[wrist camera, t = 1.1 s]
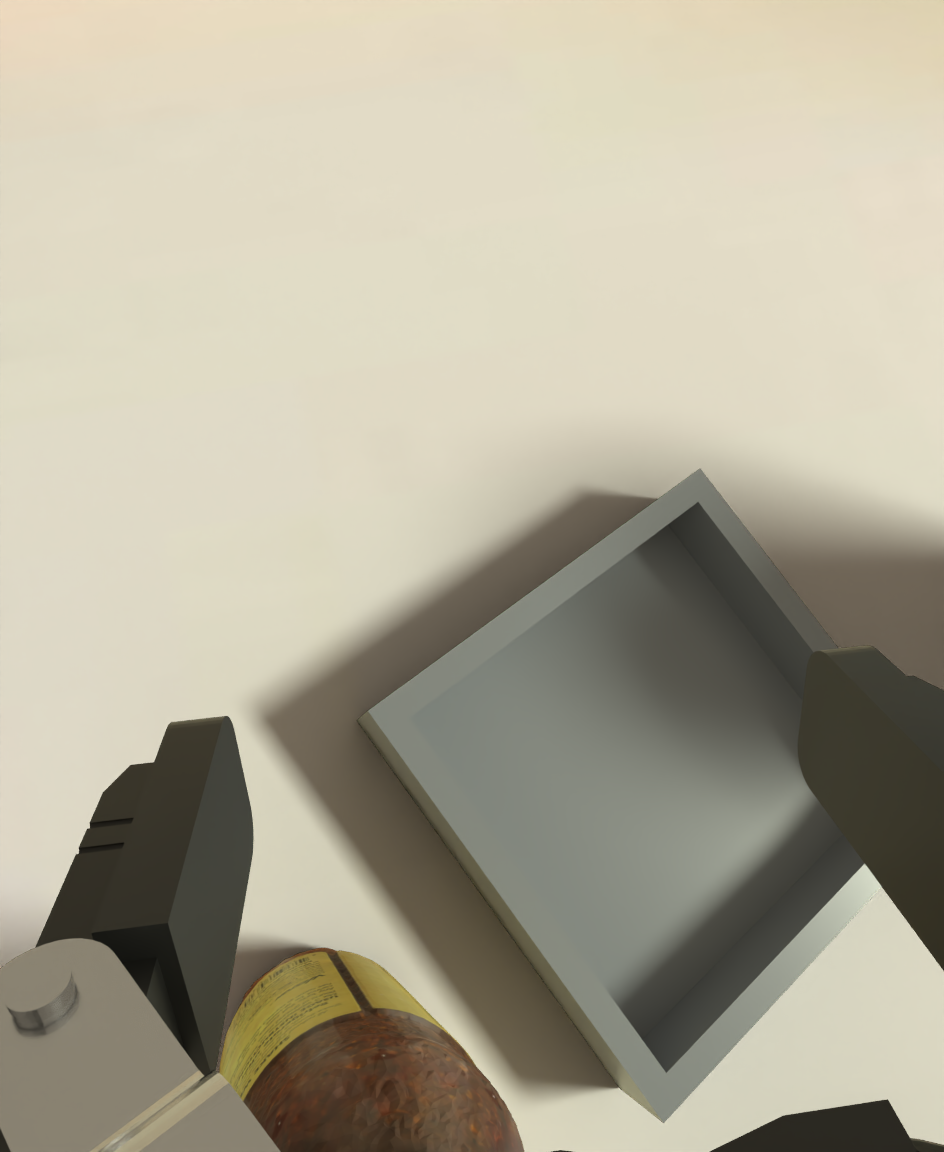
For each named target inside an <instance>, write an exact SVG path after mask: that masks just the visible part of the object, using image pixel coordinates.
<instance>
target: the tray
mask: <svg viewBox="0 0 944 1152" xmlns="http://www.w3.org/2000/svg"><path fill="white" fill-rule="evenodd" d="M830 649H839V648H838V647H837V646H836V644H835V643H834V642H833V641H832V639H831V638H830V637H829V635H828V634H827V633H826V631H825V630H824V629H823V628H822V626H821V625H820V624H819V622H818V621H817V620H816V618H815V617H814V616H813V615H812V613H811V612H810V611H809V609H808V608H807V607H806V605H805V604H804V603H803V602H802V600H801V599H800V598H799V596H798V595H797V594H796V592H795V591H794V590H793V589H792V587H791V586H790V585H789V583H788V582H787V581H786V579H785V578H784V577H783V576H782V574H781V573H780V572H779V570H778V569H777V568H776V566H775V565H774V564H773V563H772V561H771V560H770V559H769V557H768V556H767V555H766V553H765V552H764V551H763V550H762V548H761V547H760V546H759V544H758V543H757V542H756V540H755V539H754V538H753V537H752V535H751V534H750V533H749V531H748V530H747V529H746V527H745V526H744V525H743V524H742V522H741V521H740V520H739V518H738V517H737V516H736V514H735V513H734V512H733V511H732V509H731V508H730V507H729V505H728V504H727V503H726V501H725V500H724V499H723V498H722V496H721V495H720V494H719V492H718V491H717V490H716V488H715V487H714V486H713V485H712V483H711V482H710V481H709V479H708V478H707V477H706V475H705V474H704V473H703V472H702V470H701V469H698V470H697V471H696V472H694V473H693V474H692V475H690V476H689V477H687V478H686V479H685V480H683V481H682V482H681V483H679V484H678V485H677V486H675V487H674V488H672V489H671V490H670V491H668V492H667V493H666V494H664V495H663V496H661V497H660V498H659V499H657V500H656V501H655V502H653V503H652V504H650V505H649V506H648V507H646V508H645V509H644V510H642V511H641V512H640V513H638V514H637V515H635V516H634V517H633V518H631V519H630V520H629V521H627V522H626V523H624V524H623V525H622V526H620V527H619V528H618V529H616V530H615V531H613V532H612V533H611V534H609V535H608V536H607V537H605V538H604V539H603V540H601V541H600V542H598V543H597V544H596V545H594V546H593V547H592V548H590V549H589V550H587V551H586V552H585V553H583V554H582V555H581V556H579V557H578V558H577V559H575V560H574V561H572V562H571V563H570V564H568V565H567V566H566V567H564V568H563V569H561V570H560V571H559V572H557V573H556V574H555V575H553V576H552V577H550V578H549V579H548V580H546V581H545V582H544V583H542V584H541V585H540V586H538V587H537V588H535V589H534V590H533V591H531V592H530V593H529V594H527V595H526V596H524V597H523V598H522V599H520V600H519V601H518V602H516V603H515V604H513V605H512V606H511V607H509V608H508V609H507V610H505V611H504V612H503V613H501V614H500V615H498V616H497V617H496V618H494V619H493V620H492V621H490V622H489V623H487V624H486V625H485V626H483V627H482V628H481V629H479V630H478V631H476V632H475V633H474V634H472V635H471V636H470V637H468V638H467V639H466V640H464V641H463V642H461V643H460V644H459V645H457V646H456V647H455V648H453V649H452V650H450V651H449V652H448V653H446V654H445V655H444V656H442V657H441V658H439V659H438V660H437V661H435V662H434V663H433V664H431V665H430V666H429V667H427V668H426V669H424V670H423V671H422V672H420V673H419V674H418V675H416V676H415V677H413V678H412V679H411V680H409V681H408V682H407V683H405V684H404V685H403V686H401V687H400V688H398V689H397V690H396V691H394V692H393V693H392V694H390V695H389V696H387V697H386V698H385V699H383V700H382V701H381V702H379V703H378V704H376V705H375V706H374V707H372V708H371V709H370V710H368V711H367V712H366V713H365V714H364V715H363V716H361V717H360V718H359V719H358V720H357V722H358V723H359V724H360V726H361V727H362V729H363V730H364V731H365V733H366V734H367V736H368V737H369V738H370V740H371V741H372V743H373V744H374V745H375V747H376V748H377V750H378V751H379V752H380V754H381V755H382V757H383V758H384V759H385V761H386V762H387V764H388V765H389V766H390V768H391V769H392V771H393V772H394V773H395V775H396V776H397V778H398V779H399V780H400V782H401V783H402V785H403V786H404V787H405V789H406V790H407V792H408V793H409V794H410V796H411V797H412V799H413V800H414V801H415V803H416V804H417V806H418V807H419V808H420V810H421V811H422V813H423V814H424V815H425V817H426V818H427V820H428V821H429V822H430V824H431V825H432V827H433V828H434V829H435V831H436V832H437V834H438V835H439V836H440V838H441V839H442V840H443V842H444V843H445V845H446V846H447V847H448V849H449V850H450V852H451V853H452V854H453V856H454V857H455V859H456V860H457V861H458V863H459V864H460V866H461V867H462V868H463V870H464V871H465V873H466V874H467V875H468V877H469V878H470V880H471V881H472V882H473V884H474V885H475V887H476V888H477V889H478V891H479V892H480V894H481V895H482V896H483V898H484V899H485V901H486V902H487V903H488V905H489V906H490V908H491V909H492V910H493V912H494V913H495V915H496V916H497V917H498V919H499V920H500V922H501V923H502V924H503V926H504V927H505V929H506V930H507V931H508V933H509V934H510V936H511V937H512V938H513V940H514V941H515V943H516V944H517V945H518V947H519V948H520V950H521V951H522V952H523V954H524V955H525V957H526V958H527V959H528V961H529V962H530V964H531V965H532V966H533V968H534V969H535V971H536V972H537V973H538V975H539V976H540V977H541V979H542V980H543V982H544V983H545V984H546V986H547V987H548V989H549V990H550V991H551V993H552V994H553V996H554V997H555V998H556V1000H557V1001H558V1003H559V1004H560V1005H561V1007H562V1008H563V1010H564V1011H565V1012H566V1014H567V1015H568V1017H569V1018H570V1019H571V1021H572V1022H573V1024H574V1025H575V1026H576V1028H577V1029H578V1031H579V1032H580V1033H581V1035H582V1036H583V1038H584V1039H585V1040H586V1042H587V1043H588V1045H589V1046H590V1047H591V1049H592V1050H593V1052H594V1053H595V1054H596V1056H597V1057H598V1059H599V1060H600V1061H601V1063H602V1064H603V1066H604V1067H605V1068H606V1070H607V1071H608V1073H609V1074H610V1075H611V1077H612V1078H613V1080H614V1081H615V1082H616V1084H617V1085H618V1087H619V1088H620V1089H621V1090H622V1091H624V1092H625V1093H626V1094H627V1095H629V1096H630V1097H631V1098H633V1099H634V1100H635V1101H636V1102H638V1103H639V1104H640V1105H641V1106H643V1107H644V1108H645V1109H646V1110H648V1111H649V1112H650V1113H651V1114H653V1115H654V1116H655V1117H656V1118H658V1119H659V1120H660V1121H661V1122H663V1123H664V1122H665V1121H666V1120H667V1119H668V1118H669V1117H670V1116H671V1115H672V1113H673V1112H674V1111H675V1110H676V1109H677V1108H678V1107H679V1106H680V1105H681V1104H682V1103H683V1102H684V1100H685V1099H686V1098H687V1097H688V1096H689V1095H690V1094H691V1093H692V1092H693V1091H694V1090H695V1089H696V1087H697V1086H698V1085H699V1084H700V1083H701V1082H702V1081H703V1080H704V1079H705V1078H706V1077H707V1076H708V1074H709V1073H710V1072H711V1071H712V1070H713V1069H714V1068H715V1067H716V1066H717V1065H718V1064H719V1063H720V1061H721V1060H722V1059H723V1058H724V1057H725V1056H726V1055H727V1054H728V1053H729V1052H730V1051H731V1050H732V1048H733V1047H734V1046H735V1045H736V1044H737V1043H738V1042H739V1041H740V1040H741V1039H742V1038H743V1037H744V1035H745V1034H746V1033H747V1032H748V1031H749V1030H750V1029H751V1028H752V1027H753V1026H754V1025H755V1024H756V1022H757V1021H758V1020H759V1019H760V1018H761V1017H762V1016H763V1015H764V1014H765V1013H766V1012H767V1011H768V1009H769V1008H770V1007H771V1006H772V1005H773V1004H774V1003H775V1002H776V1001H777V1000H778V999H779V998H780V996H781V995H782V994H783V993H784V992H785V991H786V990H787V989H788V988H789V987H790V986H791V985H792V983H793V982H794V981H795V980H796V979H797V978H798V977H799V976H800V975H801V974H802V973H803V972H804V970H805V969H806V968H807V967H808V966H809V965H810V964H811V963H812V962H813V961H814V960H815V959H816V957H817V956H818V955H819V954H820V953H821V952H822V951H823V950H824V949H825V948H826V947H827V946H828V944H829V943H830V942H831V941H832V940H833V939H834V938H835V937H836V936H837V935H838V934H839V933H840V931H841V930H842V929H843V928H844V927H845V926H846V925H847V924H848V923H849V922H850V921H851V920H852V918H853V917H854V916H855V915H856V914H857V913H858V912H859V911H860V910H861V909H862V908H863V907H864V905H865V904H866V903H867V902H868V901H869V900H870V899H871V898H872V897H873V896H874V895H875V894H876V892H877V891H878V890H879V889H880V888H881V887H882V886H881V885H880V884H879V882H878V881H877V879H876V878H875V877H874V875H873V874H872V873H871V871H870V870H869V869H868V867H867V866H866V865H865V863H864V862H863V860H862V859H861V858H860V856H859V855H858V854H857V852H856V851H855V850H854V848H853V847H852V846H851V844H850V843H849V841H848V840H847V839H846V837H845V836H844V835H843V833H842V832H841V831H840V829H839V828H838V827H837V825H836V824H835V822H834V821H833V820H832V818H831V817H830V816H829V814H828V813H827V812H826V810H825V809H824V808H823V806H822V805H821V803H820V802H819V801H818V799H817V798H816V797H815V795H814V794H813V793H812V791H811V790H810V788H809V787H808V785H807V783H806V781H805V779H804V777H803V774H802V771H801V768H800V764H799V758H798V735H799V727H800V719H801V710H802V702H803V694H804V685H805V677H806V669H807V664H808V660H809V658H810V656H811V655H812V654H813V653H814V652H815V651H821V650H830Z"/></svg>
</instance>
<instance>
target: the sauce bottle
mask: <svg viewBox="0 0 944 1152" xmlns="http://www.w3.org/2000/svg"><path fill="white" fill-rule="evenodd" d="M220 1074H221V1075H222V1076H223V1077H224V1078H225V1079H226V1080H227V1081H228V1082H229V1084H230V1085H231V1086H232V1087H233V1089H234V1090H235V1091H236V1093H237V1094H238V1095H239V1097H240V1098H241V1099H242V1101H243V1102H244V1103H245V1105H246V1106H247V1107H248V1109H249V1110H250V1111H251V1113H252V1114H253V1115H254V1117H255V1118H256V1119H257V1121H258V1122H259V1123H260V1125H261V1126H262V1127H263V1129H264V1130H265V1131H266V1133H267V1134H268V1135H269V1137H270V1138H271V1139H272V1141H273V1142H274V1144H275V1145H276V1146H277V1148H278V1149H279V1150H280V1152H524V1148H523V1144H522V1141H521V1138H520V1135H519V1132H518V1129H517V1126H516V1124H515V1122H514V1120H513V1118H512V1115H511V1113H510V1112H509V1110H508V1108H507V1106H506V1104H505V1102H504V1101H503V1100H502V1099H501V1098H500V1096H499V1094H498V1092H497V1091H496V1089H495V1088H494V1087H493V1086H492V1085H491V1083H490V1081H489V1080H488V1079H487V1078H486V1077H485V1076H484V1075H483V1074H482V1073H481V1071H480V1070H479V1069H478V1068H477V1067H476V1065H475V1064H474V1062H473V1061H472V1059H471V1058H470V1056H469V1055H468V1053H467V1052H466V1051H465V1050H464V1049H463V1048H462V1046H461V1045H460V1044H459V1043H458V1042H457V1041H456V1040H455V1039H454V1038H453V1037H452V1036H451V1035H450V1034H449V1033H448V1032H447V1031H446V1030H445V1029H444V1028H443V1027H442V1026H441V1025H440V1024H439V1023H438V1022H437V1021H436V1020H435V1019H434V1018H433V1017H432V1016H431V1015H430V1014H429V1013H428V1012H427V1011H426V1010H425V1009H424V1008H423V1007H422V1006H421V1005H420V1004H419V1003H418V1002H417V1000H416V999H415V998H414V997H413V996H412V995H411V994H410V993H409V992H408V991H407V990H406V989H405V988H404V987H403V986H402V985H401V984H400V983H399V982H398V981H397V980H396V979H395V978H394V977H393V976H391V975H390V974H389V973H388V972H387V971H386V970H385V969H384V968H382V967H381V966H380V965H378V964H376V963H375V962H373V961H372V960H370V959H367V958H365V957H363V956H360V955H358V954H354V953H351V952H345V951H340V950H339V951H335V950H333V949H328V948H317V949H313V950H309V951H305V952H301V953H298V954H296V955H294V956H292V957H290V958H287V959H285V960H284V961H282V962H281V963H280V964H279V965H277V966H276V967H274V968H272V969H271V970H270V971H269V972H267V973H265V974H264V975H263V976H262V977H261V978H259V979H257V980H256V981H255V982H254V983H253V985H252V986H251V988H250V989H249V990H248V991H247V992H246V993H245V996H244V997H243V1001H242V1003H241V1004H240V1006H239V1008H238V1011H237V1013H236V1014H235V1016H234V1018H233V1020H232V1023H231V1025H230V1027H229V1029H228V1032H227V1034H226V1037H225V1042H224V1047H223V1052H222V1056H221V1061H220Z"/></svg>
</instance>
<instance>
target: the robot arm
mask: <svg viewBox="0 0 944 1152" xmlns="http://www.w3.org/2000/svg"><path fill="white" fill-rule="evenodd" d="M798 758H799V764H800V768H801V771H802V774H803V777H804V779H805V781H806V783H807V785H808V787H809V788H810V790H811V791H812V793H813V794H814V795H815V797H816V798H817V799H818V801H819V802H820V803H821V805H822V806H823V808H824V809H825V810H826V812H827V813H828V814H829V816H830V817H831V818H832V820H833V821H834V822H835V824H836V825H837V827H838V828H839V829H840V831H841V832H842V833H843V835H844V836H845V837H846V839H847V840H848V841H849V843H850V844H851V846H852V847H853V848H854V850H855V851H856V852H857V854H858V855H859V856H860V858H861V859H862V860H863V862H864V863H865V865H866V866H867V867H868V869H869V870H870V871H871V873H872V874H873V875H874V877H875V878H876V879H877V881H878V882H879V884H880V885H881V886H882V888H883V889H884V890H885V892H886V893H887V894H888V896H889V897H890V898H891V900H892V901H893V903H894V904H895V905H896V907H897V908H898V909H899V911H900V912H901V913H902V915H903V916H904V917H905V919H906V920H907V922H908V923H909V924H910V926H911V927H912V928H913V930H914V931H915V932H916V934H917V935H918V936H919V938H920V939H921V941H922V942H923V943H924V945H925V946H926V947H927V949H928V950H929V951H930V953H931V954H932V956H933V957H934V958H935V960H936V961H937V962H938V964H939V965H940V966H941V968H942V969H943V970H944V691H943V690H941V689H939V688H937V687H935V686H933V685H931V684H929V683H927V682H925V681H923V680H921V679H919V678H917V677H915V676H906V675H905V674H904V673H902V672H901V671H900V670H899V669H898V668H897V667H896V666H895V665H894V664H893V663H891V662H890V661H889V660H888V659H887V658H886V657H885V656H884V655H883V654H881V653H880V652H879V651H878V650H877V649H876V648H874V647H872V646H869V645H865V646H856V647H847V648H839V649H830V650H821V651H815V652H814V653H813V654H812V655H811V656H810V658H809V660H808V664H807V669H806V677H805V685H804V694H803V702H802V710H801V719H800V727H799V735H798ZM252 854H253V821H252V812H251V806H250V801H249V797H248V792H247V787H246V783H245V778H244V773H243V769H242V764H241V759H240V755H239V750H238V745H237V741H236V736H235V732H234V728H233V724H232V722H231V720H230V718H229V717H228V716H223V717H214V718H205V719H196V720H187V721H178V722H171V723H170V724H169V725H168V727H167V729H166V732H165V734H164V737H163V740H162V743H161V745H160V748H159V751H158V753H157V756H156V759H155V761H154V762H153V763H144V764H135V765H130V766H129V767H128V768H127V769H126V770H125V771H124V772H123V773H122V774H121V775H120V776H119V777H118V778H117V779H116V780H115V781H114V782H113V783H112V784H111V785H110V786H109V787H108V788H107V789H106V790H105V791H104V792H103V794H102V796H101V798H100V801H99V803H98V805H97V807H96V810H95V812H94V814H93V817H92V819H91V821H90V829H87V830H86V833H85V835H84V837H83V840H82V842H81V844H80V846H79V854H76V856H75V858H74V860H73V862H72V865H71V867H70V869H69V872H68V874H67V876H66V878H65V881H64V883H63V885H62V888H61V890H60V892H59V895H58V897H57V899H56V901H55V904H54V906H53V908H52V911H51V913H50V915H49V917H48V920H47V922H46V924H45V927H44V929H43V931H42V933H41V936H40V938H39V940H38V943H37V945H36V947H35V948H34V949H31V950H29V951H27V952H25V953H23V954H22V955H20V956H18V957H16V958H15V959H13V960H12V961H10V962H8V963H7V964H6V965H4V966H3V967H2V968H0V1152H280V1150H279V1149H278V1148H277V1146H276V1145H275V1144H274V1142H273V1141H272V1139H271V1138H270V1137H269V1135H268V1134H267V1133H266V1131H265V1130H264V1129H263V1127H262V1126H261V1125H260V1123H259V1122H258V1121H257V1119H256V1118H255V1117H254V1115H253V1114H252V1113H251V1111H250V1110H249V1109H248V1107H247V1106H246V1105H245V1103H244V1102H243V1101H242V1099H241V1098H240V1097H239V1095H238V1094H237V1093H236V1091H235V1090H234V1089H233V1087H232V1086H231V1085H230V1084H229V1082H228V1081H227V1080H226V1079H225V1078H224V1077H223V1076H222V1075H221V1074H220V1073H219V1072H217V1071H215V1070H216V1065H217V1059H218V1053H219V1047H220V1041H221V1035H222V1030H223V1024H224V1018H225V1012H226V1006H227V1000H228V995H229V989H230V983H231V977H232V971H233V965H234V960H235V954H236V948H237V942H238V936H239V931H240V925H241V919H242V913H243V907H244V901H245V896H246V890H247V884H248V878H249V872H250V866H251V861H252ZM553 1152H571V1151H562V1150H559V1151H553ZM710 1152H944V1145H942V1144H937V1143H933V1142H929V1141H924V1140H920V1139H912V1138H909V1136H908V1134H907V1132H906V1131H905V1129H904V1127H903V1125H902V1124H901V1122H900V1120H899V1118H898V1117H897V1115H896V1113H895V1111H894V1110H893V1108H892V1106H891V1104H890V1103H889V1101H888V1100H881V1101H875V1102H868V1103H862V1104H855V1105H849V1106H843V1107H836V1108H830V1109H823V1110H817V1111H810V1112H804V1113H798V1114H791V1115H785V1116H782V1117H780V1118H778V1119H776V1120H774V1121H771V1122H769V1123H767V1124H765V1125H763V1126H761V1127H759V1128H757V1129H755V1130H753V1131H751V1132H749V1133H747V1134H745V1135H743V1136H741V1137H739V1138H737V1139H735V1140H733V1141H731V1142H729V1143H726V1144H724V1145H722V1146H720V1147H718V1148H716V1149H714V1150H712V1151H710Z"/></svg>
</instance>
